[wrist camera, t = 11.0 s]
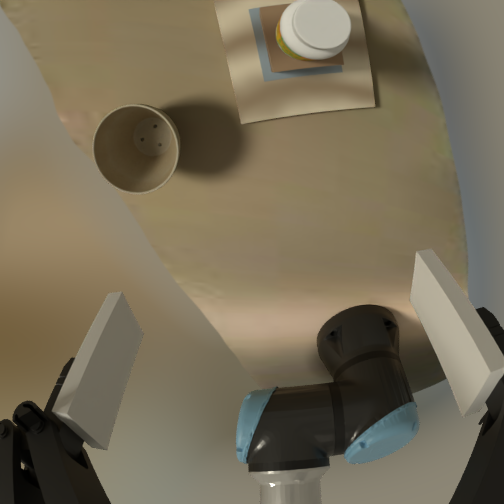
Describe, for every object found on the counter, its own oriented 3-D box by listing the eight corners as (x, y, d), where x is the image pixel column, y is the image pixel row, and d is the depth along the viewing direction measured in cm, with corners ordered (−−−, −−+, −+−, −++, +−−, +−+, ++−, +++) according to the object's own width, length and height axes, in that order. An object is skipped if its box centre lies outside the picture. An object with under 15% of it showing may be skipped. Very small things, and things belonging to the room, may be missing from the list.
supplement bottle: (266, 47, 26) (269, 38, 17) (288, 2, 23) (301, -24, 15) (317, 70, 27) (342, 72, 19) (339, 26, 24) (373, 12, 16)
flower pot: (196, 99, 34) (183, 107, 28) (188, 176, 39) (175, 199, 33) (118, 95, 33) (92, 103, 27) (116, 169, 39) (93, 190, 33)
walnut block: (332, 64, 30) (344, 64, 26) (271, 72, 31) (273, 72, 27) (322, 8, 27) (331, 0, 22) (259, 15, 28) (259, 7, 23)
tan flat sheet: (372, 105, 34) (375, 106, 33) (241, 122, 36) (241, 124, 35) (347, -31, 24) (350, -33, 23) (210, -16, 26) (209, -18, 25)
